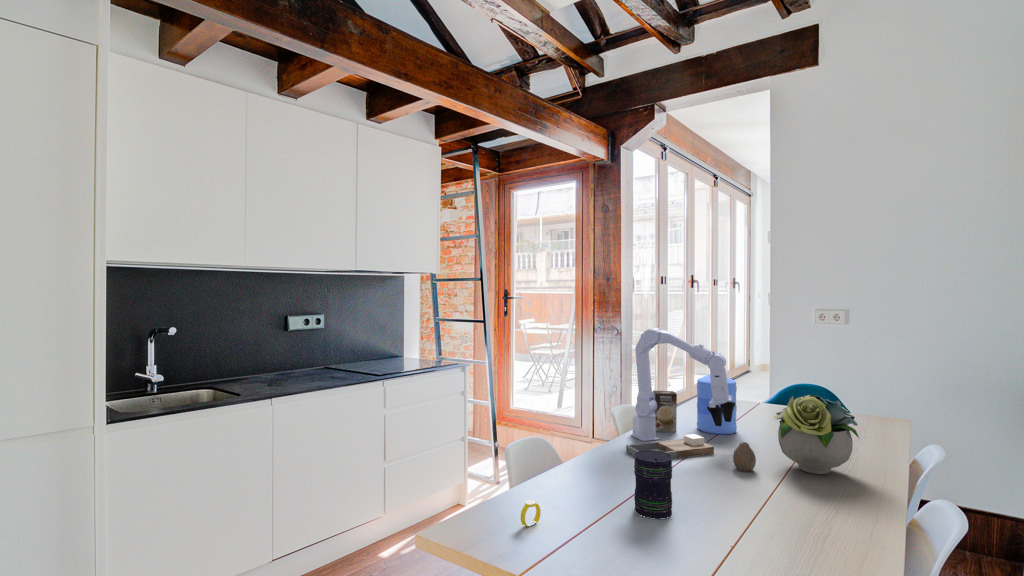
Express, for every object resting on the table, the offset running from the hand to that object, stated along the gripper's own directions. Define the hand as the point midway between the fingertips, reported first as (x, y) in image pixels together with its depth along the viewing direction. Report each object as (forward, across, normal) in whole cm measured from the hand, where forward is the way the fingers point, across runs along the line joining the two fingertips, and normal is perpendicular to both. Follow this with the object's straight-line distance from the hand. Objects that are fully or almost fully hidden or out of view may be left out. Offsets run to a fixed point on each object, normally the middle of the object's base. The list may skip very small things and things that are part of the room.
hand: (723, 423), depth 194 cm
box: (+8, -26, +15) cm, 31 cm away
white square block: (+6, -9, +8) cm, 13 cm away
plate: (+8, -12, +10) cm, 18 cm away
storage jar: (+9, -66, -12) cm, 68 cm away
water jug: (+9, +24, +16) cm, 30 cm away
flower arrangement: (+13, 0, -30) cm, 32 cm away
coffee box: (+7, +8, +30) cm, 32 cm away
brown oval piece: (+11, -16, -14) cm, 24 cm away
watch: (+7, -96, +4) cm, 97 cm away
